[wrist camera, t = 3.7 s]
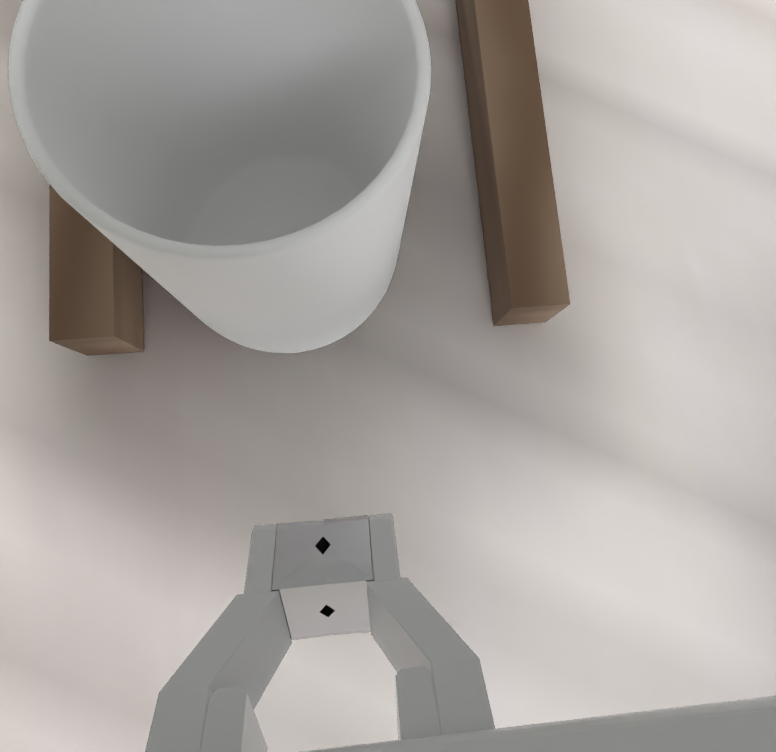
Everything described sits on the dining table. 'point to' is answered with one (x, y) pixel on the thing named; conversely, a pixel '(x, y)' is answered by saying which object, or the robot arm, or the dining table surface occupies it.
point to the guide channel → (495, 188)
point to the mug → (234, 147)
